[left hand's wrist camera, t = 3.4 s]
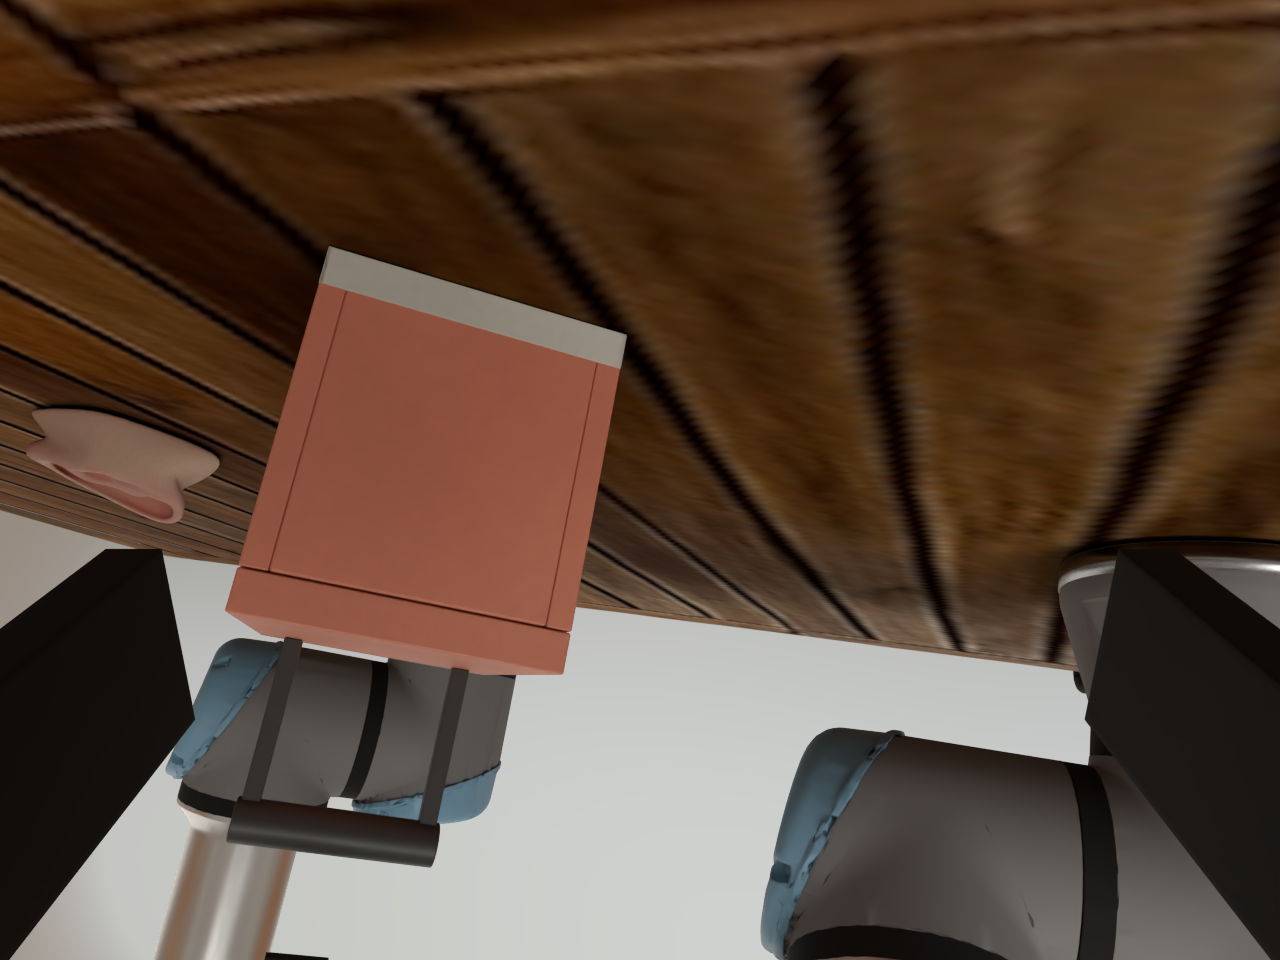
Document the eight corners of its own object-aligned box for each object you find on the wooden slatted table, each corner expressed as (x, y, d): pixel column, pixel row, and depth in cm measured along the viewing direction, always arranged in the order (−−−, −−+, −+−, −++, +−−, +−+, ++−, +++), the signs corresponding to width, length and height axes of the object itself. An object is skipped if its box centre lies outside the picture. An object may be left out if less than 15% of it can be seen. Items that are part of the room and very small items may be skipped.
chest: (534, 438, 44) (491, 646, 42) (327, 385, 42) (267, 603, 39) (627, 334, 31) (571, 631, 28) (329, 245, 28) (237, 564, 26)
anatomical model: (23, 460, 50) (235, 517, 57) (48, 393, 51) (253, 457, 58) (-4, 483, 60) (179, 529, 67) (17, 426, 61) (195, 477, 68)
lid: (489, 647, 42) (445, 856, 40) (268, 605, 40) (207, 826, 37) (571, 633, 28) (511, 954, 26) (237, 566, 26) (136, 917, 23)
